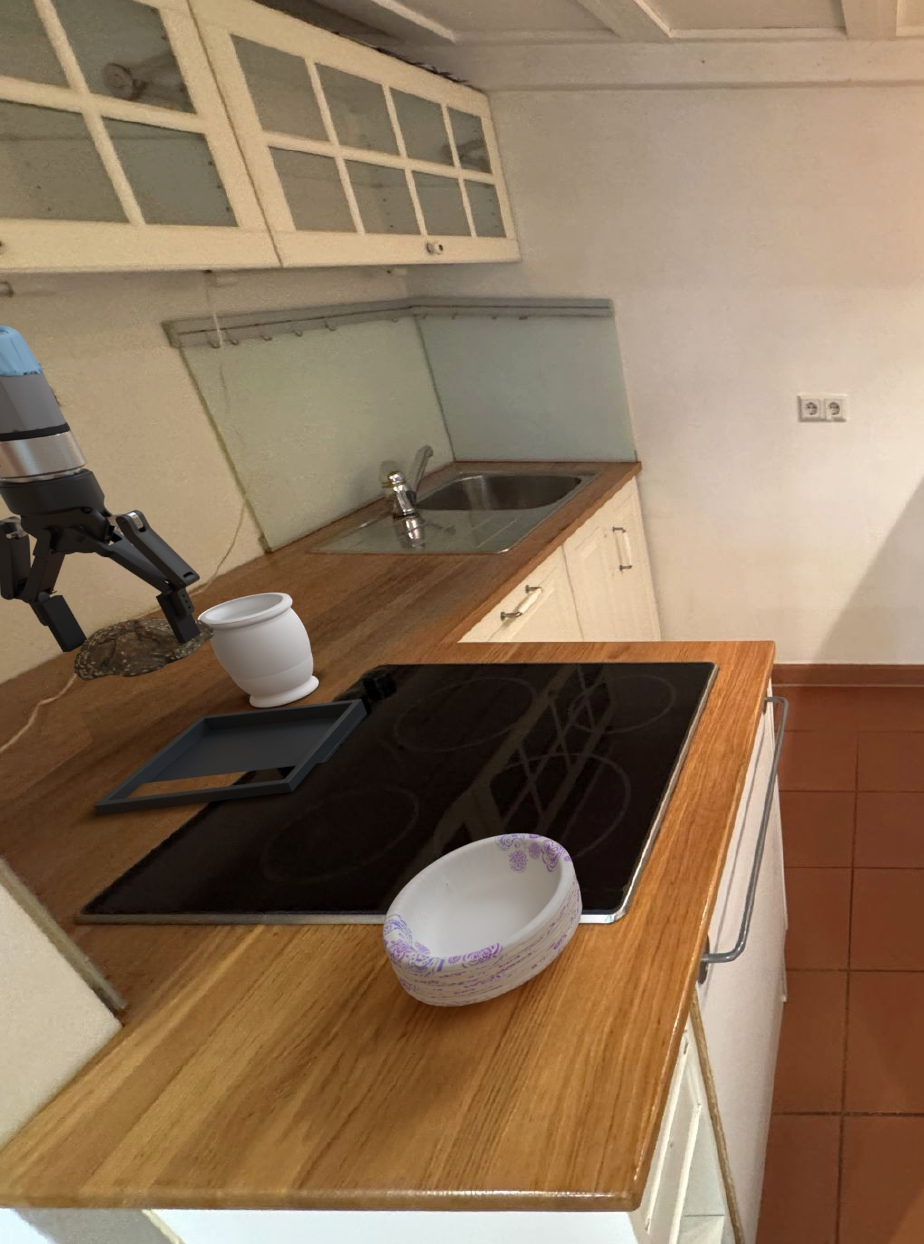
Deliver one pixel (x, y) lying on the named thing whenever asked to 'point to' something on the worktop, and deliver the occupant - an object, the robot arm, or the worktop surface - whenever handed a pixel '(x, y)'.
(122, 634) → the bread roll
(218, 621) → the jar
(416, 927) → the paper bowls
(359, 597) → the worktop surface
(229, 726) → the bread tray
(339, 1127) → the worktop surface
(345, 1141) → the worktop surface
